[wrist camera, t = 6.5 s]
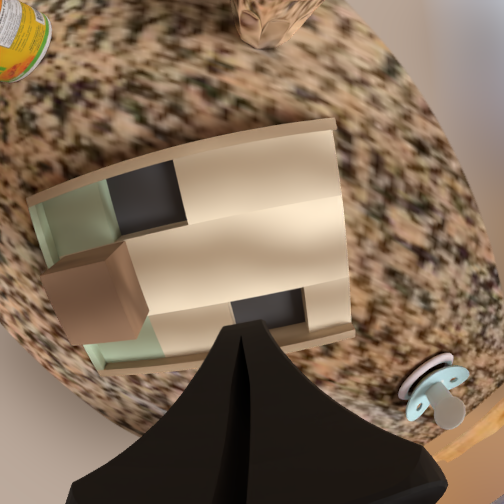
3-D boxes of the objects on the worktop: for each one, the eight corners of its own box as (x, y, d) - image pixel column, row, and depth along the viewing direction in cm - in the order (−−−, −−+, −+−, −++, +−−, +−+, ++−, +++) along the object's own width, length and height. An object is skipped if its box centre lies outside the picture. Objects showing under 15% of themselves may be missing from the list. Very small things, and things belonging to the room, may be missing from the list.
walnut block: (149, 310, 17) (136, 339, 15) (90, 319, 17) (71, 345, 15) (125, 240, 16) (105, 260, 13) (64, 256, 16) (39, 276, 13)
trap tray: (344, 318, 20) (355, 336, 18) (110, 357, 20) (100, 376, 18) (321, 120, 16) (334, 117, 13) (45, 191, 16) (25, 198, 14)
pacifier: (385, 386, 23) (405, 411, 25) (410, 435, 18) (428, 453, 19) (448, 336, 22) (460, 368, 24) (485, 377, 16) (490, 405, 18)
